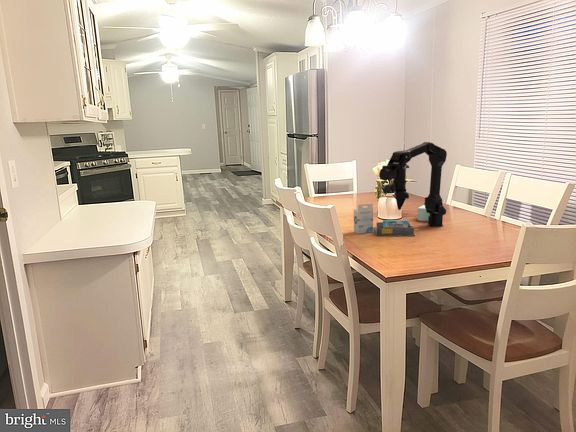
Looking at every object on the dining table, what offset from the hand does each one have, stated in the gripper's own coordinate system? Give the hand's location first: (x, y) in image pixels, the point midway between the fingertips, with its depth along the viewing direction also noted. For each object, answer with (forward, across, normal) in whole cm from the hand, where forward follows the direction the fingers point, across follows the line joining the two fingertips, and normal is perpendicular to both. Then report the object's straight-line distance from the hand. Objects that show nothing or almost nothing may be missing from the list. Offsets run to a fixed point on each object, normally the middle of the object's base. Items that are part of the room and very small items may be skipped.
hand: (399, 209), depth 215 cm
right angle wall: (+13, -28, +22) cm, 38 cm away
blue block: (+11, +3, -2) cm, 12 cm away
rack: (+12, -1, -2) cm, 12 cm away
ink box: (+12, -1, -17) cm, 21 cm away
